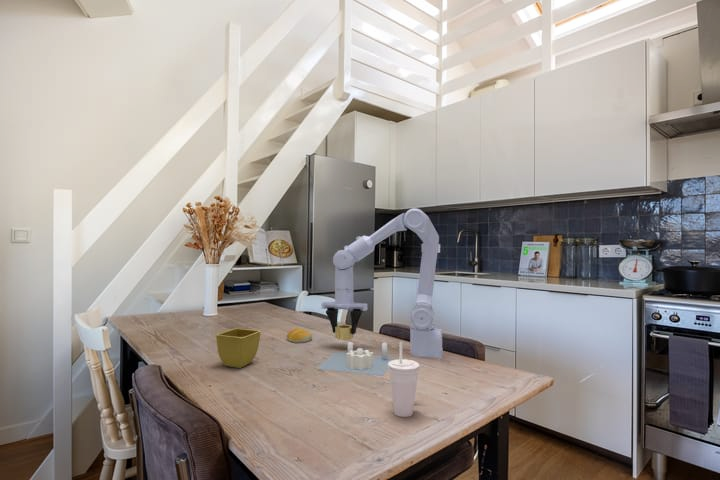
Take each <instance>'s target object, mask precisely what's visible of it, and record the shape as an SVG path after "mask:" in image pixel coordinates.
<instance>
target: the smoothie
mask: <svg viewBox="0 0 720 480" xmlns="http://www.w3.org/2000/svg"><path fill="white" fill-rule="evenodd" d="M398 352H399V359H394V360H392V361H390V362H389V363H388V369H387V370H388V371H389V380H390V387H391V394H392V395H391V398H392V405H393V413H394V415H396V416H398V417H402V418H407V417H408V418H409V417H411V416H412V415H413V414H414V406H415V399H416V390H417V382H418V374H419V372H420V370H421V369H420V363H419V362H417V361H415V360H411V359H403V342H402V341H399V351H398Z"/></svg>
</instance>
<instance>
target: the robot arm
mask: <svg viewBox="0 0 720 480" xmlns="http://www.w3.org/2000/svg"><path fill="white" fill-rule="evenodd" d="M408 229H409V230H411V231H412V232H414V233H415V234H416V235H417V237H419V239H420V240H421V241H422V244H423V245H422V251H421V261H420V269H419V276H418V277H419V278H418V285H417V292H416V293H417V295H416V300H415V305H414V307H413V310H412V312H411V315H410V321H411V324H410V328H409V329H410V331H409V333H410V335H409V337H410V343H409V344H410V346H409V348H410V351H409V353H410V355H411V356H414V357H418V358H432V359H433V358H434V359H439V363H441V361H442V358H443V354H444V350H443V349H444V348H443V330H442V329H441V328H437V327H436V326H435V324H434V323H433V321H434V309H433V307H432V301H433V292H434V285H435V277H436V276H435V275H436V270H437V269H436V266H437V260H438V259H437V258H438V251H439V241H440V236H439V234H438V232H437V230H436V228H435V226H434V225H433V223H432V221H431V218H430V217H429V216H428V215H427V214H426V213H425V212H424V211H422V209H420V208H410V209H409V210H407V211H406V212H403V213H401V214H399V215H397V216H396V217H394V218H393V219H391V220H390V221H388V222H387V223H386V224H384V225H383V226H382V227H380V228H379V229H378V230H376V231H374V233H372V234H371V235H369V236H367V235H362V236H360V235H358V236H356V238H355V241H353V242H352V243H350V244H349V245H345V246H343V248H344V249H340V250H337V252H335V254H334V255H333V257H332V262H333V265H334V266H335V267H334V269H335V270H334V294H335V295H334V301H323V302H321V309H322V310H325V309H326V311H325V313H326V316H327V317H328V320H329V322H330V325H331V329H332V333H333V334H335V326H337V325H338V316H339V310H350V319H351V326H352V330H351V331H352V334H353V335H355V334H356V333H357V327H358V324H359V321H360V318H361V315H362V314H363V312H366V311H368V309H369V308H368V303H363V302H362V303H361V302H356V301H355V302H354V266H355V264H356V263H358V262H359V261H361V260H363V259H364V258H365V257H367V256H368V255H370V254H371V253H372V252H373V253H374V251H375V246H376V245H377V244H379V243H380V242H382V241H383V240H386V239H387V238H389V237H390V236H392V235H393V234H395V233H396V232H405V231H407V230H408Z"/></svg>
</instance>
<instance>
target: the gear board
mask: <svg viewBox="0 0 720 480" xmlns="http://www.w3.org/2000/svg"><path fill="white" fill-rule="evenodd" d="M351 350H352V351H354V342H353V341H347V352H340V351H336V352H335V353H333V354H332V355H331V356H329V357H328V358H327V359H326V360H324V361H323V362H321V364H319V365H318V366H316V368H315V370H323V371H324V370H325V371H333V372H334V371H335V372H343V373H350V374H351V373H352V374H361V375H362V374H363V375H371V376H381V377H382V376H384V375H385V373H386V372H387V370H388V363H389V362H390V361H392V360H396V359H395V358H396V357H395V356H388V343H387V342H382V343H381V355H376V354H375V355H374V354H373V366H372V368H371V369H367V368H366V369H363V370H359V369H353V370H352V369H350V367H347V353H349V351H351ZM356 351H357V355H363V351H364V350H363V348H362V347H361V348H360V347H358V348H357V349H356Z"/></svg>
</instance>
